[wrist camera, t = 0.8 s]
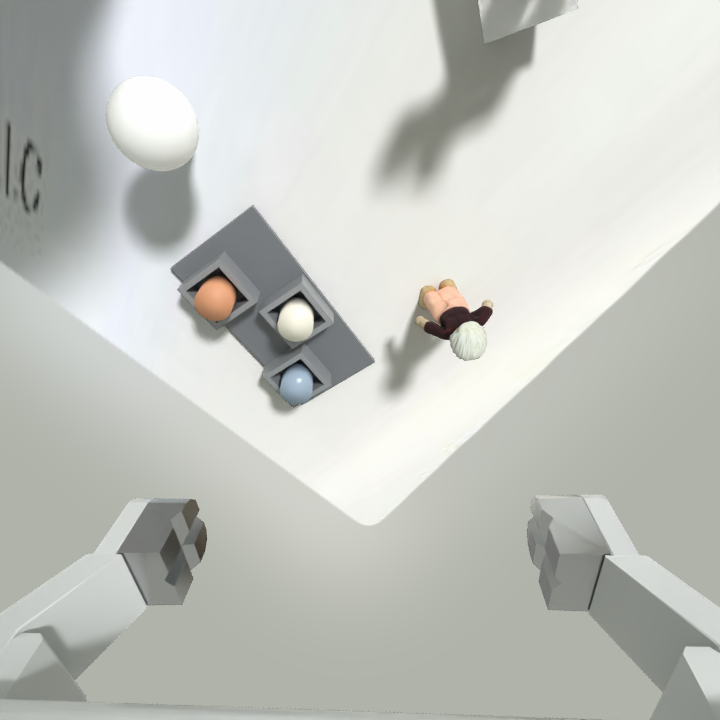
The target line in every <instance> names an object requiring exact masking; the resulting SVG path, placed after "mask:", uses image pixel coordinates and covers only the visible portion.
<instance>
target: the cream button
mask: <svg viewBox="0 0 720 720" xmlns="http://www.w3.org/2000/svg"><path fill="white" fill-rule="evenodd" d="M313 323H314V310H313V307H312V306H311V304H310V303H309V302H308V301H306V300H304V299H301V298H292V299H289V300H287V301H286V302H285V303H284V304H283V305H282V307H281V310H280V315H279V319H278V330H279V333H280V334H281V335H282V336H283V337H284V338H285V339H287V340H289V341H293V342H300V341H303V340H305V339H307V338H308V337H309V336H310V335H311V333H312V331H313Z"/></svg>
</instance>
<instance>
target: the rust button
mask: <svg viewBox="0 0 720 720" xmlns="http://www.w3.org/2000/svg"><path fill="white" fill-rule="evenodd" d="M237 296H238V292H237V288H236V286H235V285H234V284H233V283H232V281H231V280H229V279H228V278H226V277H223V276H212V277H209V278H208V279H206V280H205V281H204V283H203V285H202V286H201V288H200V289H199V291H198V292H197V294H196V296H195V299H194V305H195V308H196V310H197V312H198V313H199V314H200V315H201V316H202V317H204V318H206V319H208V320H211V321H220V320H223V319H225V318H227V317H228V316H229V315H230V313H231V311H232V309H233V306H234V304H235V302H236V299H237Z"/></svg>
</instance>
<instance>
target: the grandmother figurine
mask: <svg viewBox="0 0 720 720" xmlns="http://www.w3.org/2000/svg"><path fill="white" fill-rule="evenodd" d="M419 305H420V306H421V307H422V308H424V309H428V310H429V311H430V313H431V315H432V316H433V318H434V319H435V321H436V322H437V323H439V324H440V325H441V326H439V325H438V324H436V323H434V322H431V321H429V320H427V319H425V318H424V317H422V316H418V317H417V318H416V320H415V323H416V325H418V326H420V327H421V328H422V329H423V330H424V331H425V332H426V333H429V334H432V335H434V336H437V337H439V338H441V339H444V340H450V342H451V344H450V345H451V348H452V349H453V353H455V354H456V356H457V357H458V358H459V359H463V360H465V361H468V360H474V359H478V358H480V357H481V356H482V355H483V353H484V351H485V348H486V345H487V337H486V334H485V332H484V330H483V329H484V327H483V325H484V324H485V323H486V322H487V321H488V319H489V318H490V316H491V315H492V312H493V311H492V307H493V303H492V301H491V300H485V301H484V302H483V303H482V307H480V308H479V309H477V310H476V311H474V312H471V313H470V309H469V307H468V305H467V303H466V301H465V299H464V297H463V296H462V295H461V294H460V293H459V291H458V290H457V288H456V286H455V283H454V282H453V280H451V279H447V280H444V281H442V282H441V284H440V290H438V291H435V288H434V287H433V286H425V287H423V288H422V290H421V294H420V298H419Z"/></svg>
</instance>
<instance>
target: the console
mask: <svg viewBox="0 0 720 720" xmlns="http://www.w3.org/2000/svg"><path fill="white" fill-rule="evenodd" d="M171 270H172V271H173V272H174V273H175V274H176V275H177V276H178V277H179V278H180V279H181V280H182V281H183V282H182V284H181V285H180V286H179V288H178V289H177V290H178V291H179V292H180V293H181V294H182V295H183V296H184V297H185V298H186V299H187V300H188V302H189V303H190V304H191V305H192V306H193V307H194V308H195V305H194V299H195V296H196V294H197V292H198V291H199V289H200V288H201V286H202V285H203V283H204V281H205V280H206V279H208V278H209V277H212V276H223V277H226V278H228V279H229V280H231V281H232V283H233V284H234V285H235V286H236V288H237V292H238V296H237V299H236V302H235V304H234V306H233V309H232V311H231V313H230V315H229V316H228V317H227V318H225V319H223V320H220V321H211V320H208V319H206V318H205V319H206V320H207V321H208V322H209V323H210V324H211V325H212V326H213V327H214V328H215V329H216V330H217V329H219V328H220V327H222V326H223V325H225V326H226V327H227V328H228V329H229V330H230V331H231V332H232V333H233V334H234V335H235V336H236V337H237V338H238V339H239V340H240V341H241V342H242V343H243V344H244V345H245V347H246V348H247V349H248V350H249V351H250V352H251V353H252V354H253V355H254V356H255V357H256V358H257V359H258V360H259V361H260V362H261V363H262V364H263V365H264V366H265V368H264V372H263V378H264V379H265V380H266V381H267V382H268V383H269V384H270V385H271V386H272V387H273V388H274V389H275V390H276V391H277V392H278V393H279V394H280V386H281V380H282V374H283V371H284V369H285V368H287V367H288V366H290V365H291V364H296V363H298V364H303V365H306V366H307V367H309V369H310V370H311V371H312V373H313V390H312V396H311V398H310V399H309V400H311V399H313V398H314V397H316V396H318V395H320V394H321V393H323V392H325V391H326V390H328V389H330V388H332V387H333V386H335V385H337V384H338V383H340V382H342V381H343V380H345V379H347V378H349V377H350V376H352V375H354V374H355V373H357V372H359V371H361V370H362V369H364V368H366V367H367V366H369V365H371V364H372V363H374V362H375V361H374V359H373V358H372V356H371V355H370V354H369V352H368V351H367V350H366V349H365V347H364V346H363V345H362V344H361V342H360V341H359V340H358V338H357V337H356V336H355V335H354V333H353V332H352V331H351V329H350V328H349V327H348V326H347V324H346V323H345V322H344V321H343V319H342V318H341V317H340V315H339V314H338V313H337V312H336V310H335V309H334V308H333V306H332V305H331V304H330V303H329V301H328V300H327V299H326V298H325V296H324V295H323V294H322V292H321V291H320V290H319V289H318V287H317V286H316V285H315V284H314V282H313V281H312V280H311V278H310V277H309V276H308V275H307V273H306V272H305V271H304V269H303V268H302V267H301V266H300V264H299V263H298V262H297V261H296V259H295V258H294V257H293V255H292V254H291V253H290V252H289V250H288V249H287V248H286V247H285V245H284V244H283V243H282V241H281V240H280V239H279V238H278V236H277V235H276V234H275V232H274V231H273V230H272V229H271V227H270V226H269V225H268V224H267V222H266V221H265V220H264V218H263V217H262V216H261V215H260V213H259V212H258V211H257V209H256V208H255V207H254V206H251V207H250V208H249V209H247V210H246V211H245V212H244V213H242V214H241V215H240V216H238V217H237V218H236V219H234V220H233V221H232V222H230V223H229V224H228V225H226V226H225V227H224V228H222V229H221V230H220V231H219V232H217V233H216V234H215V235H213V236H212V237H211V238H209V239H208V240H207V241H205V242H204V243H203V244H201V245H200V246H199V247H197V248H196V249H195V250H193V251H192V252H191V253H190V254H188V255H187V256H186V257H184V258H183V259H182V260H180V261H179V262H178V263H176V264H175V265H174V266H172V267H171ZM292 298H301V299H304V300H306V301H308V302H309V303H310V304H311V306H312V307H313V310H314V323H313V331H312V333H311V335H310V336H309V337H308V338H307V339H305V340H303V341H300V342H293V341H289V340H287V339H285V338H284V337H283V336H282V335H281V334H280V333H279V330H278V319H279V315H280V310H281V307H282V305H283V304H284V303H285V302H286V301H287V300H289V299H292ZM195 309H196V308H195ZM309 400H308V401H309ZM308 401H307V402H308ZM305 403H306V402H305ZM289 404H290V405H291V406H292V407H293V408H294V407H296V406H298V405H299V404H291V403H289ZM303 404H304V403H302V404H301V405H303Z"/></svg>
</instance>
